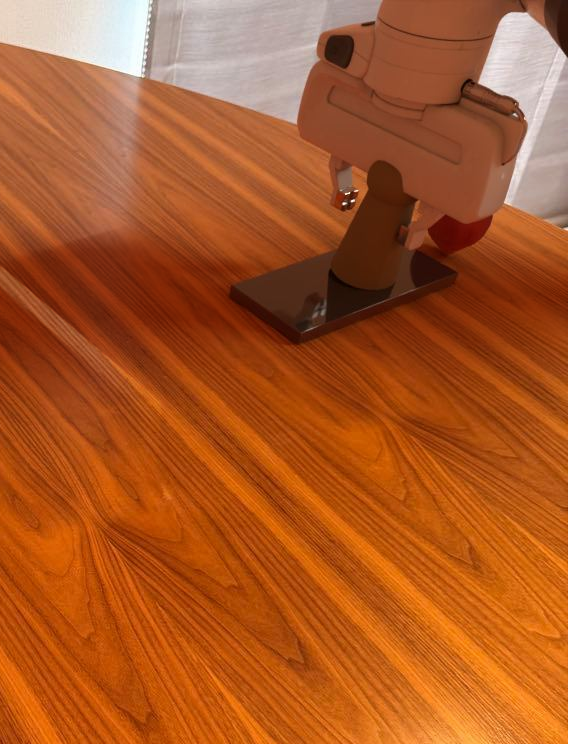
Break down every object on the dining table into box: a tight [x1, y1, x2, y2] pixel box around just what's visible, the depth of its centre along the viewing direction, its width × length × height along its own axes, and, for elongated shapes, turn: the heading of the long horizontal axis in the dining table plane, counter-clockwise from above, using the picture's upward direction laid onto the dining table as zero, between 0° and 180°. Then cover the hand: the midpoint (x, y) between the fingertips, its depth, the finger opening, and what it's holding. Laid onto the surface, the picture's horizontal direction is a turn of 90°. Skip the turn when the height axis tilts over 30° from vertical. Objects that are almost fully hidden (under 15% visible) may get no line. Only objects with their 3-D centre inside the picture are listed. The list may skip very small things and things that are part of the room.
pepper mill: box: [331, 160, 419, 290], centre depth 85 cm, size 6×6×11 cm
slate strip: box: [228, 247, 460, 345], centre depth 89 cm, size 20×9×1 cm, turn 122°
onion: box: [427, 214, 494, 255], centre depth 92 cm, size 6×6×8 cm
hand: (373, 226), depth 86 cm, fingers open, 7 cm apart
